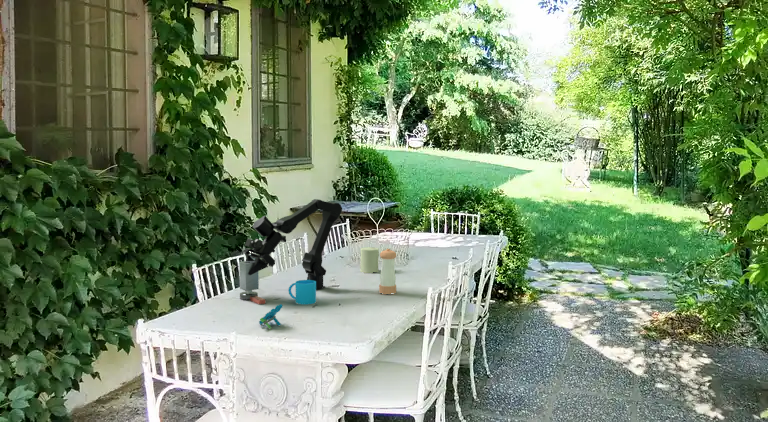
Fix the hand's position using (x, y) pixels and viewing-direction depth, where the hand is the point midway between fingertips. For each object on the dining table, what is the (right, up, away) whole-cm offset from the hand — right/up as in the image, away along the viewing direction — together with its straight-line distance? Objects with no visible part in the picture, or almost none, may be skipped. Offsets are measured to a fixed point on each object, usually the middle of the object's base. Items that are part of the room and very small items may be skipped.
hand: (245, 273), depth 261 cm
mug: (+23, -11, -2) cm, 26 cm away
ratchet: (+3, -11, -1) cm, 11 cm away
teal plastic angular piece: (+16, -15, -37) cm, 43 cm away
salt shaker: (+58, -10, +14) cm, 60 cm away
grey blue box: (+1, -7, +2) cm, 7 cm away
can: (+49, -5, +60) cm, 78 cm away
